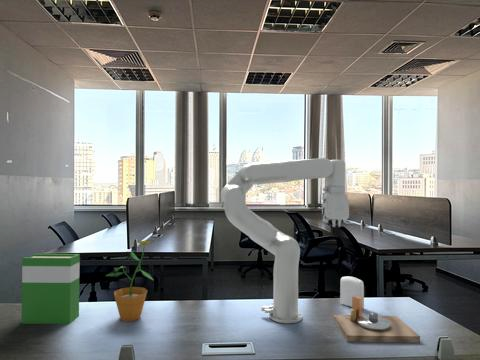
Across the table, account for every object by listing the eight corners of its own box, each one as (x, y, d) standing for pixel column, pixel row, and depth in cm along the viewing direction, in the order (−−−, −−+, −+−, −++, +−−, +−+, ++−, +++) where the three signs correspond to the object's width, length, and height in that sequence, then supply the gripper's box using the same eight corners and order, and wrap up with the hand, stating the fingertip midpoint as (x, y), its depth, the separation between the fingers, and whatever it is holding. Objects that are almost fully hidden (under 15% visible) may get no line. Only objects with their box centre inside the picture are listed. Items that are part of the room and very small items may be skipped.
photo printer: (338, 303, 153) (338, 275, 153) (344, 301, 155) (344, 273, 155) (359, 310, 145) (360, 280, 145) (365, 308, 147) (365, 278, 147)
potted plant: (159, 309, 144) (160, 236, 144) (145, 328, 125) (146, 244, 126) (116, 308, 145) (117, 235, 145) (96, 327, 126) (97, 243, 126)
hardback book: (21, 323, 129) (22, 257, 129) (33, 315, 136) (34, 253, 136) (69, 323, 129) (70, 258, 129) (78, 316, 136) (79, 254, 136)
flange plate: (396, 325, 124) (396, 302, 124) (379, 333, 117) (380, 309, 117) (361, 314, 135) (361, 293, 135) (345, 321, 128) (345, 299, 128)
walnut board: (347, 341, 116) (347, 323, 116) (333, 320, 134) (333, 304, 134) (419, 342, 116) (420, 324, 116) (396, 321, 134) (396, 305, 134)
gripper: (323, 190, 135) (323, 238, 135) (357, 191, 139) (356, 237, 139) (313, 190, 142) (313, 235, 142) (346, 190, 146) (345, 234, 146)
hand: (334, 236), depth 140 cm, fingers closed
